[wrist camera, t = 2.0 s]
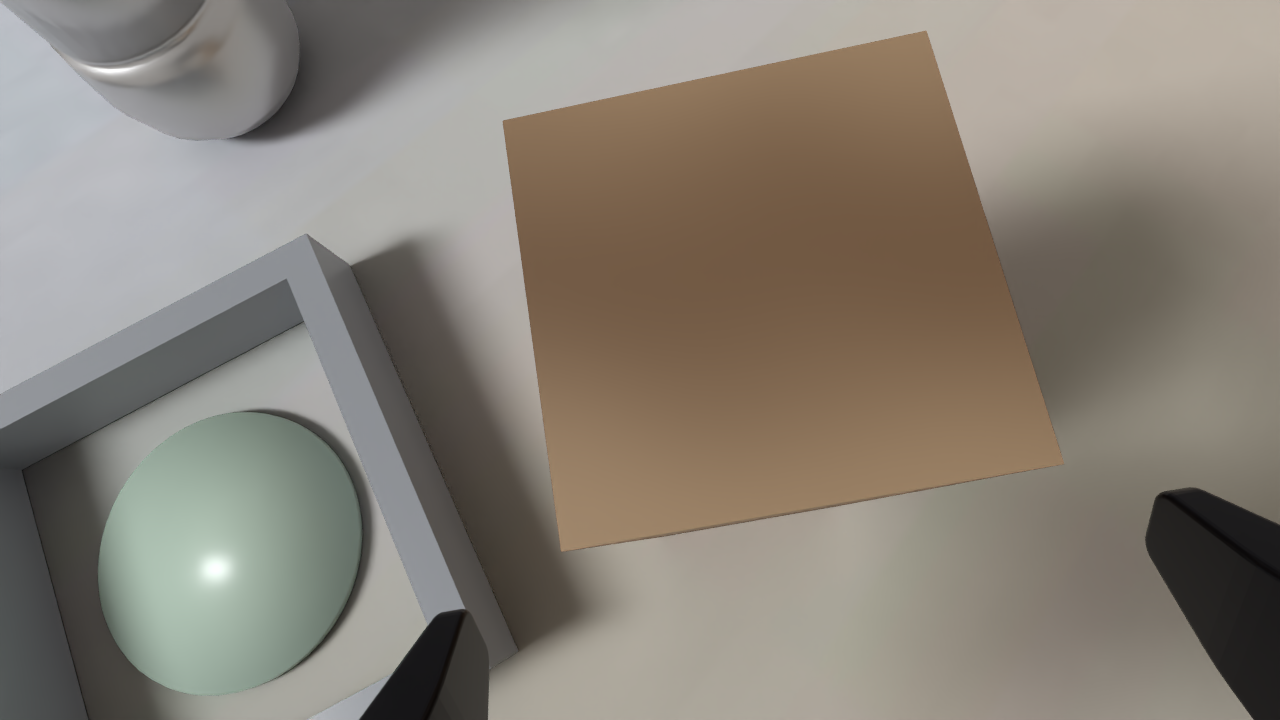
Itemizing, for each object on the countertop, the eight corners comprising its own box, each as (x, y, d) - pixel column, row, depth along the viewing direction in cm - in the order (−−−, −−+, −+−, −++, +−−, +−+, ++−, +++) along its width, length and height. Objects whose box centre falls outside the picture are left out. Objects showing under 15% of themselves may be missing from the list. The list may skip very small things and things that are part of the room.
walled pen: (518, 651, 19) (490, 668, 17) (93, 882, 19) (3, 933, 17) (349, 265, 23) (305, 233, 20) (-15, 456, 22) (-103, 448, 20)
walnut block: (836, 506, 19) (1064, 464, 7) (658, 537, 20) (560, 551, 7) (796, 334, 21) (927, 29, 8) (629, 366, 21) (502, 121, 8)
